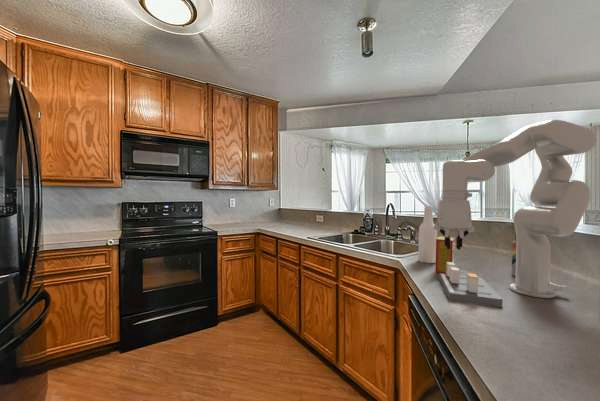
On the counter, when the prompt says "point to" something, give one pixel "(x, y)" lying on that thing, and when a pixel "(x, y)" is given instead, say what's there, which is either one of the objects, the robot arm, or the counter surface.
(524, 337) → the counter surface
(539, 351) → the counter surface
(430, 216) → the alcohol
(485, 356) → the counter surface
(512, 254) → the lotion bottle
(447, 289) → the panel
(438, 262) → the baking soda box
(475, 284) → the handle
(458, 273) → the handle mid
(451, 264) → the handle back
